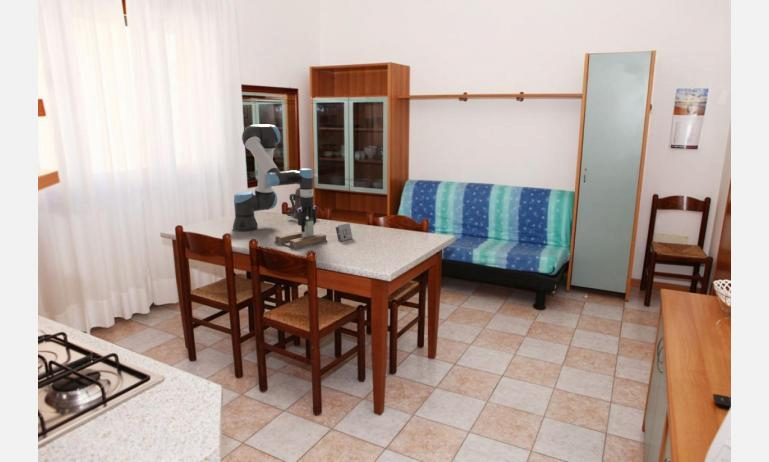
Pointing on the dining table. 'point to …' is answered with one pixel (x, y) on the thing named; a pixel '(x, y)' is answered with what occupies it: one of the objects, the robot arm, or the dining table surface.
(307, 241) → the brown wooden tray
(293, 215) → the tankard
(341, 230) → the electrical switch
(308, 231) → the fader tab
